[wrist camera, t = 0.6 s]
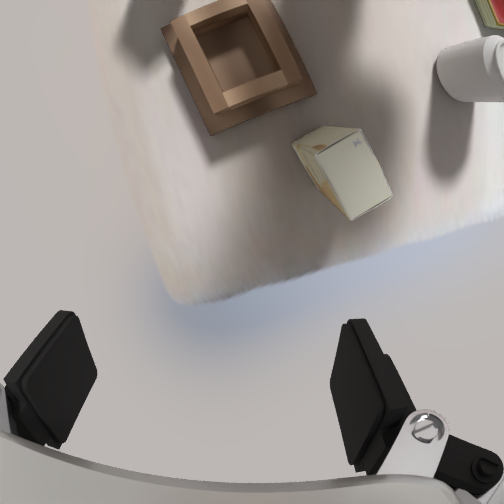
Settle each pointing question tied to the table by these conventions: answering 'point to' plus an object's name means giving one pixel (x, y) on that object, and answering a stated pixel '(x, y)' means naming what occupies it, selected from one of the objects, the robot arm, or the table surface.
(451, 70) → the can
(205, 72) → the slotted stand
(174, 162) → the table surface
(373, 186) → the skincare box
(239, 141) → the table surface
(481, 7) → the hardcover book
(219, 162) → the table surface
